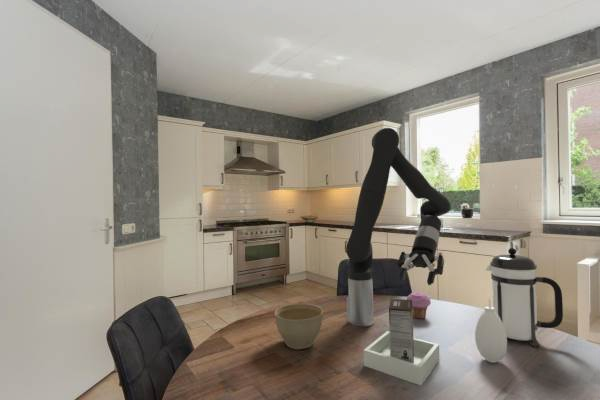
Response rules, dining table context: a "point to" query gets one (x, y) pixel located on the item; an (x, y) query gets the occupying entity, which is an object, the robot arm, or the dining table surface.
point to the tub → (415, 373)
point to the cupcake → (419, 304)
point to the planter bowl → (299, 324)
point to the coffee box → (401, 329)
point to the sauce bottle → (491, 335)
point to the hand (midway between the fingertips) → (415, 281)
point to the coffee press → (520, 296)
